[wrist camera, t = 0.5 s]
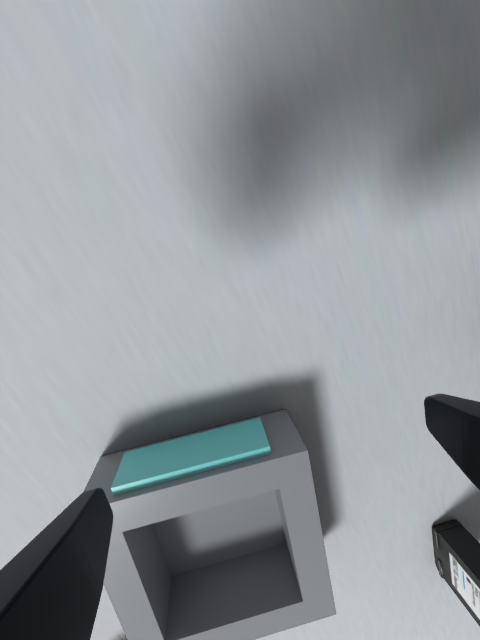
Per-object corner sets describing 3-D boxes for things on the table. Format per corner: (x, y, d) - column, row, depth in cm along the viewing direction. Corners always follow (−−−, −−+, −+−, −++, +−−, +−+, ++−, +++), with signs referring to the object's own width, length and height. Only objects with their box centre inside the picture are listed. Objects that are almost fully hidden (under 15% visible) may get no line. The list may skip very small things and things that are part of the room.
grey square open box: (284, 402, 21) (306, 442, 17) (312, 549, 24) (336, 614, 20) (98, 450, 20) (69, 505, 16) (153, 595, 23) (142, 674, 19)
